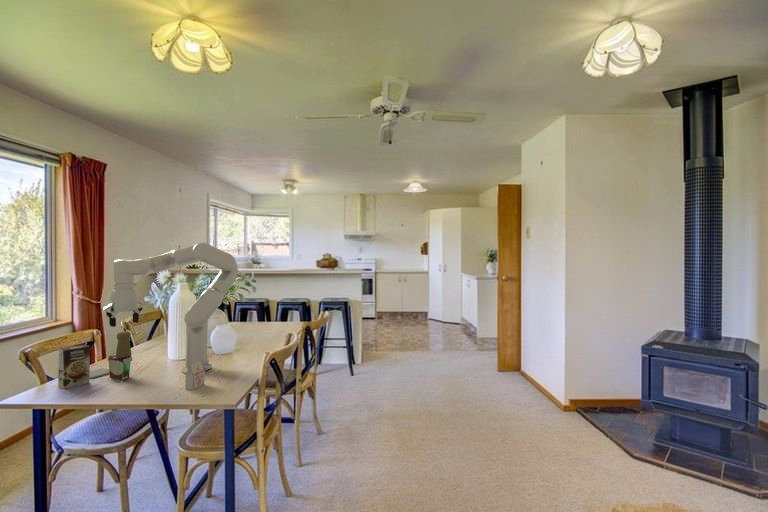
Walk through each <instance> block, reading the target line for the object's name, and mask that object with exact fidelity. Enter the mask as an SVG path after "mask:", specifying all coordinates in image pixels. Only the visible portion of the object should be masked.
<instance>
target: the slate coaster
mask: <svg viewBox="0 0 768 512" xmlns="http://www.w3.org/2000/svg"><path fill="white" fill-rule="evenodd" d="M107 374H108V375H109V368H104V367H102V368H101V367H100V368H97V369H94V370H90V374H89V378H90V379H89V380H93V379H97V378H100V376H101V377H104V376H107ZM103 375H104V376H103ZM96 377H97V378H96ZM92 378H93V379H92Z"/></svg>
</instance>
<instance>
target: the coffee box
mask: <svg viewBox="0 0 768 512" xmlns="http://www.w3.org/2000/svg"><path fill="white" fill-rule="evenodd" d="M90 353H91V346H90V345H87V344H80V345H79V344H78V345H72V346H67V347H61V348H58V379H57V381H58V382H57V383H58V387H60V388H61V389H64V390H65V389H69V388H73V387H77V386H81V385H85V384H89V383H90V379H89V374H90V371H91V370H90V363H91V362H90V360H91V358H90V357H91V356H90V355H91V354H90Z"/></svg>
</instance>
